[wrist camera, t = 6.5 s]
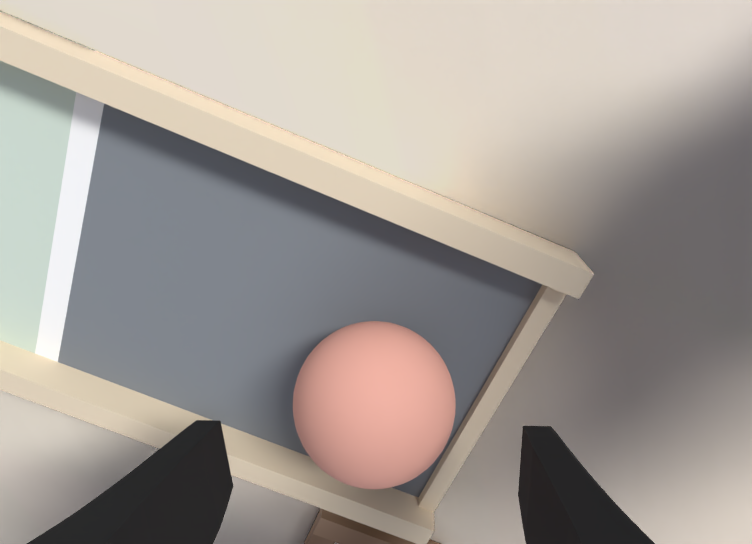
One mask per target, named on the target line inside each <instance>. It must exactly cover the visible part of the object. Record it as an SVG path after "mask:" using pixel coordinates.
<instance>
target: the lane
mask: <svg viewBox="0 0 752 544" xmlns="http://www.w3.org/2000/svg"><path fill="white" fill-rule="evenodd" d="M593 276H594V273H593V272H592V271H591V270H590V268H589V267H588V266H587V265H586V264H585V263H584V261H583V260H582V259H581V258H580V257H579V256H578V255H577V253H576V252H574V251H572V250H570V249H567V248H565V247H563V246H560V245H558V244H555V243H553V242H551V241H548V240H546V239H543V238H541V237H539V236H536V235H534V234H532V233H529V232H527V231H524V230H522V229H520V228H517V227H515V226H512V225H510V224H508V223H505V222H503V221H501V220H498V219H496V218H493V217H491V216H489V215H486V214H484V213H481V212H479V211H477V210H474V209H472V208H470V207H467V206H465V205H462V204H460V203H458V202H455V201H453V200H450V199H448V198H446V197H443V196H441V195H439V194H436V193H434V192H431V191H429V190H427V189H424V188H422V187H419V186H417V185H415V184H412V183H410V182H408V181H405V180H403V179H400V178H398V177H396V176H393V175H391V174H388V173H386V172H384V171H381V170H379V169H377V168H374V167H372V166H369V165H367V164H365V163H362V162H360V161H357V160H355V159H353V158H350V157H348V156H346V155H343V154H341V153H338V152H336V151H334V150H331V149H329V148H326V147H324V146H322V145H319V144H317V143H315V142H312V141H310V140H307V139H305V138H303V137H300V136H298V135H295V134H293V133H291V132H288V131H286V130H284V129H281V128H279V127H276V126H274V125H272V124H269V123H267V122H265V121H262V120H260V119H257V118H255V117H253V116H250V115H248V114H245V113H243V112H241V111H238V110H236V109H234V108H231V107H229V106H226V105H224V104H222V103H219V102H217V101H214V100H212V99H210V98H207V97H205V96H203V95H200V94H198V93H195V92H193V91H191V90H188V89H186V88H183V87H181V86H179V85H176V84H174V83H172V82H169V81H167V80H164V79H162V78H160V77H157V76H155V75H152V74H150V73H148V72H145V71H143V70H141V69H138V68H136V67H133V66H131V65H129V64H126V63H124V62H121V61H119V60H117V59H114V58H112V57H110V56H107V55H105V54H102V53H100V52H98V51H95V50H93V49H90V48H88V47H86V46H83V45H81V44H79V43H76V42H74V41H71V40H69V39H67V38H64V37H62V36H59V35H57V34H55V33H52V32H50V31H48V30H45V29H43V28H40V27H38V26H36V25H33V24H31V23H28V22H26V21H24V20H21V19H19V18H17V17H14V16H12V15H9V14H7V13H5V12H2V11H0V390H2V391H5V392H7V393H10V394H13V395H15V396H18V397H21V398H24V399H26V400H29V401H32V402H34V403H37V404H40V405H43V406H45V407H48V408H51V409H53V410H56V411H59V412H61V413H64V414H67V415H70V416H72V417H75V418H78V419H80V420H83V421H86V422H89V423H91V424H94V425H97V426H99V427H102V428H105V429H107V430H110V431H113V432H116V433H118V434H121V435H124V436H126V437H129V438H132V439H135V440H137V441H140V442H143V443H145V444H148V445H151V446H153V447H156V448H159V449H160V448H162V447H163V446H164V445H165V444H167V443H168V442H169V441H170V440H172V439H173V438H174V437H175V436H177V435H178V434H179V433H180V432H182V431H183V430H184V429H185V428H187V427H188V426H189V425H191V424H192V423H193V422H195V421H196V420H215V421H221V426H222V431H223V436H224V441H225V446H226V452H227V457H228V462H229V467H230V472H231V475H232V476H235V477H237V478H240V479H243V480H246V481H248V482H251V483H254V484H256V485H259V486H262V487H264V488H267V489H270V490H273V491H275V492H278V493H281V494H283V495H286V496H289V497H292V498H294V499H297V500H300V501H302V502H305V503H308V504H310V505H313V506H316V507H319V508H321V509H324V510H327V511H329V512H332V513H335V514H338V515H340V516H343V517H346V518H348V519H351V520H354V521H356V522H359V523H362V524H365V525H367V526H370V527H373V528H375V529H378V530H381V531H384V532H386V533H389V534H392V535H394V536H397V537H400V538H402V539H405V540H408V541H411V542H413V543H416V544H427V543H428V541H429V539H430V538H431V536H432V535H433V533H434V531H435V529H434V511H435V510H436V508H437V507H438V505H439V503H440V502H441V500H442V498H443V497H444V495H445V493H446V492H447V490H448V488H449V487H450V485H451V484H452V482H453V480H454V479H455V477H456V475H457V474H458V472H459V470H460V469H461V467H462V465H463V464H464V462H465V460H466V459H467V457H468V456H469V454H470V452H471V451H472V449H473V447H474V446H475V444H476V442H477V441H478V439H479V437H480V436H481V434H482V433H483V431H484V429H485V428H486V426H487V424H488V423H489V421H490V419H491V418H492V416H493V414H494V413H495V411H496V410H497V408H498V406H499V405H500V403H501V401H502V400H503V398H504V396H505V395H506V393H507V391H508V390H509V388H510V387H511V385H512V383H513V382H514V380H515V378H516V377H517V375H518V373H519V372H520V370H521V368H522V367H523V365H524V363H525V362H526V360H527V359H528V357H529V355H530V354H531V352H532V350H533V349H534V347H535V345H536V344H537V342H538V340H539V339H540V337H541V336H542V334H543V332H544V331H545V329H546V327H547V326H548V324H549V322H550V321H551V319H552V317H553V316H554V314H555V313H556V311H557V309H558V308H559V306H560V304H561V303H562V301H563V299H564V298H565V296H566V294H567V295H569V296H572V297H574V298H577V299H579V298H580V296H581V295H582V293H583V292H584V290H585V288H586V287H587V285H588V284H589V282H590V280H591V279H592V277H593ZM367 321H382V322H389V323H393V324H397V325H400V326H403V327H405V328H408V329H410V330H412V331H414V332H416V333H417V334H418V335H420V336H421V337H423V338H424V339H425V340H426V341H427V342H429V343H430V344H431V345H432V346H433V347H434V349H435V350H436V351H437V352H438V353H439V355H440V356H441V358H442V359H443V361H444V363H445V364H446V366H447V369H448V371H449V373H450V375H451V379H452V382H453V386H454V391H455V399H456V408H455V418H454V423H453V428H452V432H451V434H450V437H449V439H448V442H447V444H446V446H445V447H444V449H443V451H442V452H441V454H440V455H439V456H438V458H437V459H436V460H435V462H434V463H433V464H432V465H431V466H430V467H429V468H428V469H427V470H425V471H424V472H423V473H421V474H420V475H419V476H417V477H416V478H414V479H412V480H410V481H408V482H406V483H404V484H401V485H398V486H394V487H391V488H385V489H363V488H357V487H353V486H350V485H347V484H344V483H342V482H340V481H338V480H336V479H335V478H333V477H331V476H330V475H328V474H327V473H325V472H324V471H323V470H322V469H321V468H319V467H318V466H317V465H316V464H315V462H314V461H313V460H312V459H311V457H310V456H309V455H308V453H307V452H306V450H305V449H304V447H303V445H302V443H301V441H300V438H299V436H298V433H297V430H296V427H295V422H294V416H293V393H294V388H295V384H296V380H297V377H298V374H299V372H300V369H301V367H302V366H303V364H304V362H305V360H306V358H307V357H308V355H309V354H310V353H311V352H312V350H313V349H314V348H315V347H316V346H317V345H318V344H319V343H320V342H321V341H322V340H323V339H325V338H326V337H327V336H329V335H330V334H332V333H333V332H335V331H337V330H339V329H341V328H343V327H345V326H348V325H351V324H355V323H359V322H367Z"/></svg>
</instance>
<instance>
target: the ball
mask: <svg viewBox="0 0 752 544" xmlns="http://www.w3.org/2000/svg"><path fill="white" fill-rule="evenodd" d="M455 408H456V399H455V391H454V386H453V382H452V379H451V375H450V373H449V371H448V369H447V366H446V364H445V363H444V361H443V359H442V358H441V356H440V355H439V353H438V352H437V351H436V350H435V349H434V347H433V346H432V345H431V344H430V343H429V342H427V341H426V340H425V339H424V338H423V337H421V336H420V335H418V334H417V333H416V332H414V331H412V330H410V329H408V328H405V327H403V326H400V325H397V324H393V323H389V322H382V321H367V322H359V323H355V324H351V325H348V326H345V327H343V328H341V329H339V330H337V331H335V332H333V333H332V334H330V335H329V336H327V337H326V338H325V339H323V340H322V341H321V342H320V343H319V344H318V345H317V346H316V347H315V348H314V349H313V350H312V352H311V353H310V354H309V355H308V357H307V358H306V360H305V362H304V364H303V366H302V367H301V369H300V372H299V374H298V377H297V380H296V384H295V388H294V393H293V416H294V422H295V427H296V430H297V433H298V436H299V438H300V441H301V443H302V445H303V447H304V449H305V450H306V452H307V453H308V455H309V456H310V457H311V459H312V460H313V461H314V462H315V464H316V465H317V466H318V467H319V468H321V469H322V470H323V471H324V472H325V473H327V474H328V475H330V476H331V477H333V478H335V479H336V480H338V481H340V482H342V483H344V484H347V485H350V486H353V487H357V488H363V489H385V488H391V487H394V486H398V485H401V484H404V483H406V482H408V481H410V480H412V479H414V478H416V477H417V476H419V475H420V474H421V473H423V472H424V471H425V470H427V469H428V468H429V467H430V466H431V465H432V464H433V463H434V462H435V460H436V459H437V458H438V456H439V455H440V454H441V452H442V451H443V449H444V447H445V446H446V444H447V442H448V439H449V437H450V434H451V432H452V428H453V423H454V418H455Z"/></svg>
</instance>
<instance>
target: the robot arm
mask: <svg viewBox="0 0 752 544" xmlns="http://www.w3.org/2000/svg"><path fill="white" fill-rule="evenodd" d="M232 488H233V482H232V477H231V472H230V467H229V462H228V457H227V452H226V446H225V441H224V436H223V431H222V426H221V421H215V420H196V421H195V422H193V423H192V424H191V425H189V426H188V427H187V428H185V429H184V430H183V431H182V432H180V433H179V434H178V435H177V436H175V437H174V438H173V439H172V440H170V441H169V442H168V443H167V444H165V445H164V446H163V447H162V448H160V449H159V450H158V451H157V452H156V453H154V454H153V455H152V456H150V457H149V458H148V459H147V460H145V461H144V462H143V463H142V464H140V465H139V466H138V467H137V468H135V469H134V470H133V471H132V472H130V473H129V474H128V475H126V476H125V477H124V478H123V479H121V480H120V481H118V482H117V483H116V484H114V485H113V486H112V487H110V488H109V489H108V490H106V491H105V492H103V493H102V494H101V495H99V496H98V497H97V498H95V499H94V500H93V501H91V502H90V503H88V504H87V505H86V506H84V507H83V508H81V509H80V510H79V511H77V512H76V513H74V514H73V515H71V516H70V517H68V518H67V519H65V520H64V521H62V522H61V523H59V524H58V525H56V526H54V527H53V528H51V529H50V530H48V531H46V532H45V533H43V534H42V535H40V536H39V537H37V538H35V539H34V540H32V541H30V542H29V543H27V544H213V542H214V540H215V538H216V536H217V533H218V531H219V529H220V526H221V523H222V520H223V517H224V514H225V511H226V508H227V505H228V502H229V498H230V495H231V492H232ZM518 497H519V503H520V510H521V516H522V523H523V529H524V535H525V540H526V544H655V543H654V542H653V541H652V540H651V539H650V538H649V537H648V536H647V535H646V534H645V533H643V532H642V530H641V529H640V528H639V527H638V526H637V525H636V524H635V523H634V522H633V521H632V520H631V519H630V518H629V517H628V516H627V515H626V514H625V513H624V512H623V511H622V510H621V509H620V508H619V507H618V506H617V505H616V503H615V502H614V501H613V500H612V499H611V498H610V497H609V496H608V495H607V493H606V492H605V491H604V490H603V489H602V488H601V487H600V486H599V484H598V483H597V482H596V481H595V480H594V479H593V478H592V476H591V475H590V474H589V473H588V472H587V471H586V469H585V468H584V467H583V466H582V464H581V463H580V462H579V461H578V460H577V458H576V457H575V456H574V455H573V453H572V452H571V451H570V450H569V448H568V447H567V446H566V445H565V443H564V442H563V441H562V439H561V438H560V437H559V435H558V434H557V433H556V432H555V430H554V429H553V428H552V427H551V426H523V434H522V449H521V463H520V477H519V492H518Z"/></svg>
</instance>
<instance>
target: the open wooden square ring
mask: <svg viewBox="0 0 752 544" xmlns="http://www.w3.org/2000/svg"><path fill="white" fill-rule="evenodd" d="M335 542H336V543H339V544H416V543H413V542H411V541H408V540H405V539H402V538H400V537H397V536H394V535H392V534H389V533H386V532H384V531H381V530H378V529H375V528H373V527H370V526H367V525H365V524H362V523H359V522H356V521H354V520H351V519H348V518H346V517H343V516H340V515H338V514H335V513H332V512H329V511H327V510H324V509H320V511H319V513H318V515H317V517H316V519H315V521H314V524H313V526H312V528H311V530H310V532H309V534H308V536H307V538H306V540H305V542H304V544H334V543H335ZM427 544H440V543H437V542H435V541H432V540H429V541H428V543H427Z"/></svg>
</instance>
